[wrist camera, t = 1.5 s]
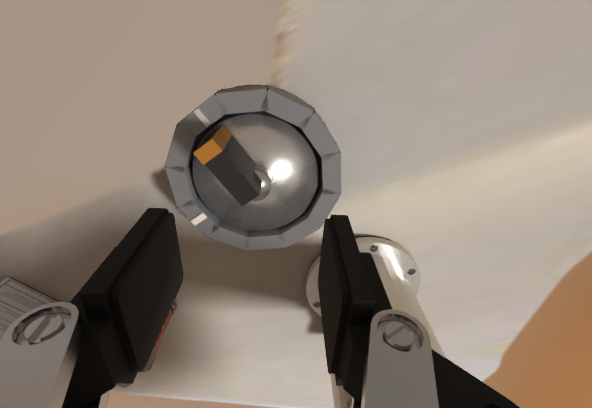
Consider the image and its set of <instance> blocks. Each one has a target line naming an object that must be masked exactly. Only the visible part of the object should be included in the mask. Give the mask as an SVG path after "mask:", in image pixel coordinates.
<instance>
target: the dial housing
mask: <svg viewBox="0 0 592 408" xmlns="http://www.w3.org/2000/svg"><path fill="white" fill-rule="evenodd" d="M246 112H264V113H269V114H272V115H275V116H277V117H279V118H281V119H283V120H285V121H287V122H290V123H291V124H293V125H294V126H295V127H297V128H298V129H299V130H300V131H301V132H302V133H303V135H304V136H305V137H306V138H307V140H308V141H309V143H310V145H311V147H312V149H313V151H314V154H315V158H316V162H317V166H318V185H317V190H316V193H315V196H314V198H313V200H312V202H311V203H310V205H309V206H308V208H307V209H306V210H305V211H304V212H303V213H302V214H301V215H300V216H299V217H298V218H296V219H295V220H294V221H292V222H290V223H288V224H286V225H284V226H282V227H279V228H275V229H271V230H260V231H256V230H247V229H242V228H239V227H235V226H233V225H231V224H228V223H226V222H225V221H223V220H221V219H220V218H218V217H217V216H216V215H214V214H213V213H212V212H211V211H210V210H209V209H208V208H207V206H206V205H205V204H204V203H203V201H202V200H201V198H200V196H199V194H198V192H197V190H196V187H195V184H194V179H193V160H194V156H195V155H194V154H193V153H194V151H195V150H196V149H197V148H198V146H199V144H200V142H201V141H202V139H203V138H204V137H205V135H206V134H207V133H208V132H209V131H210V130H211V128H213V127H214V126H215V125H216V124H217V123H219V122H220V121H222V120H223V119H225V118H227V117H230V116H232V115H235V114H238V113H246ZM165 166H166V167H165V170H166V173H167V176H168V180H169V183H170V186H171V189H172V193H173V196H174V199H175V202H176V205H177V207H179V208H178V209H179V210H180V211H181V212H182V213H183V214H184V215H185V216H186V217H187V218H188V219H189V220H190V221H191V222H192V223H193V224H194V225H195V226H196V227H197V228H198V229H199V230H200V231H201V232H202V233H204V234H205V235H206V236H209V237H208V238H211V239H213V240H216V241H219V242H222V243H225V244H228V245H231V246H233V247H236V248H239V249H242V250H245V251H246V249H247V251H254V250H266V249H279V248H286V247H289V246H291V245H292V244H294V243H296V242H298V241H299V240H301V239H303V238H304V237H306V236H308V235H310V234H311V233H313V232H315V231H317V230H318V229H320V227H322V225H323V223H324V222H325V219H326V218H327V217H328V215H329V213H330V212H331V210H332V209H333V207H334V205H335V204H336V202H337V200H338V199H339V197H340V195H341V194H340V193H341V152H340V149H339V147H338V145H337V143H336V141H335V140H334V138H333V137H332V135H331V134H330V132H329V131H328V129H327V127H326V125H325V123H324V122H323V121H322V119H321V118H320V116H319V115H318V114H317V112H316V111H315V109H314V108H313V107H312V106H311V105H309V104H307V103H306V102H304V101H303V100H301V99H300V98H298V97H297V96H295V95H293V94H291V93H289V92H287V91H285V90H282V89H278V88H275V87H272V86H268V85H245V86H237V87H234V88H229V89H221V90H219V91H218V92H216V93H215V94H214V95H213V96H211V97H210V98H209V99H207V100H206V101H205V102H204V103H202V104H201V105H200V106H199V107H198V108H196V109H195V110H194V111H192V112H191V113H190V114H189V115H187V116H186V117H185V118H184V119H183V120H181V121H180V122H179V123H178V124H177V125H176V129H175V132H174V136H173V140H172V143H171V146H170V150H169V153H168V157H167V160H166V164H165Z"/></svg>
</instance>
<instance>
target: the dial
mask: <svg viewBox="0 0 592 408" xmlns="http://www.w3.org/2000/svg"><path fill="white" fill-rule="evenodd" d="M193 154H194V155H195V156H194V160H193V179H194V184H195V187H196V190H197V192H198V194H199V196H200V198H201V200H202V201H203V203H204V204H205V205H206V206H207V208H208V209H209V210H210V211H211V212H212V213H213V214H214V215H216V216H217V217H218V218H220V219H221V220H223V221H225V222H226V223H228V224H231V225H233V226H235V227H239V228H242V229H247V230H256V231H260V230H271V229H275V228H279V227H282V226H284V225H286V224H288V223H290V222H292V221H294V220H295V219H296V218H298V217H299V216H300V215H301V214H302V213H303V212H304V211H305V210H306V209H307V208H308V206H309V205H310V203H311V202H312V200H313V198H314V196H315V193H316V190H317V185H318V166H317V162H316V158H315V154H314V151H313V149H312V147H311V145H310V143H309V141H308V140H307V138H306V137H305V136H304V135H303V133H302V132H301V131H300V130H299V129H298V128H297V127H295V126H294V125H293V124H291V123H290V122H287V121H285V120H283V119H281V118H279V117H277V116H275V115H272V114H269V113H264V112H246V113H238V114H235V115H232V116H230V117H227V118H225V119H223V120H222V121H220V122H219V123H217V124H216V125H215V126H214V127H213V128H211V130H210V131H209V132H208V133H207V134H206V135H205V137H204V138H203V139H202V141H201V142H200V144H199V146H198V148H197V149H196V150H195V151H194V153H193Z"/></svg>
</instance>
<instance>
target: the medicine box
mask: <svg viewBox="0 0 592 408" xmlns="http://www.w3.org/2000/svg"><path fill="white" fill-rule="evenodd" d="M52 302H58V301H56V300H53V299H51V298H49V297H47V296H45V295H43V294H41V293H39V292H37V291H35V290H33V289H31V288H29V287H27V286H25V285H23V284H21V283H19V282H17V281H15V280H13V279H11V278H9V277H6V278H5V279H4V280H3V281H1V282H0V340H1V338H2V336H3V335H4V333H5V331H6V330H7V329H8V327H9V326H10V325H11V324H12V323H13V322H14V321H15V320H16V319H18V318H19V317H20V316H21V315H23V314H25V313H26V312H28V311H30V310H32V309H34V308H36V307H39V306H41V305H45V304H48V303H52Z"/></svg>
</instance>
